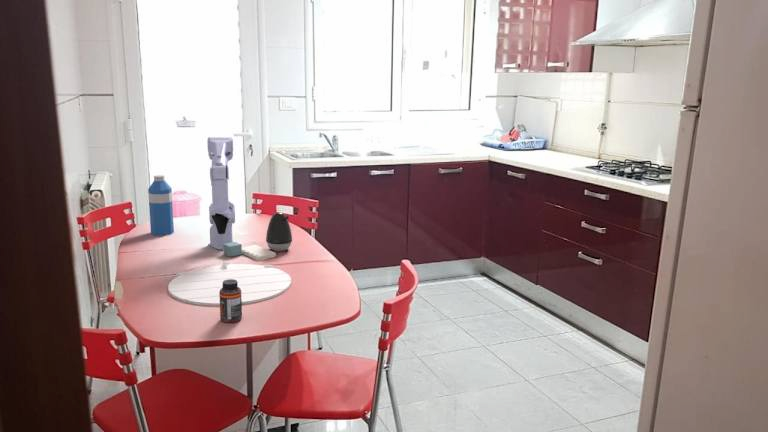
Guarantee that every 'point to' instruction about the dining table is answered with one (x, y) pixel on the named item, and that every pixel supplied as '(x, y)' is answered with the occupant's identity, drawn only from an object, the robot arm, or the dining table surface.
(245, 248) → the white slotted box
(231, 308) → the supplement bottle
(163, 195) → the water bottle
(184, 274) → the lazy susan
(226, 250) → the pale blue cube
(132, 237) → the dining table surface
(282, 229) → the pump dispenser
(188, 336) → the dining table surface
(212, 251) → the dining table surface
